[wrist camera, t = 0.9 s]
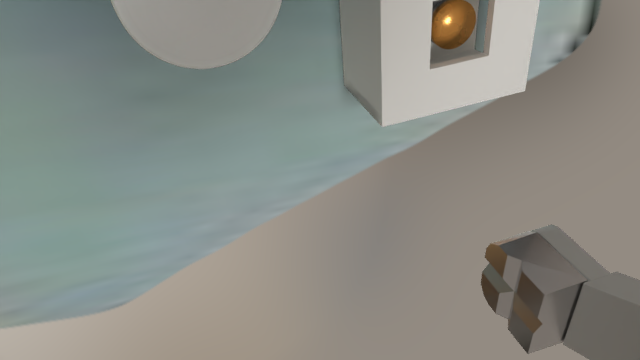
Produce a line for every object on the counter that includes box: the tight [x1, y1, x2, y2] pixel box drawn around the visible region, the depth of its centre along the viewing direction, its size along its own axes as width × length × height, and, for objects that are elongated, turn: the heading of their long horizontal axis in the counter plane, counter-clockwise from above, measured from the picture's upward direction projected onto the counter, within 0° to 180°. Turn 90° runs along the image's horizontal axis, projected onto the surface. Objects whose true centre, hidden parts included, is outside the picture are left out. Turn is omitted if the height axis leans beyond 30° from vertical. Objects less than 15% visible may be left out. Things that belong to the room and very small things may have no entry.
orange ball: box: [431, 0, 476, 49], centre depth 44 cm, size 4×4×4 cm
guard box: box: [339, 0, 540, 127], centre depth 45 cm, size 14×14×9 cm
